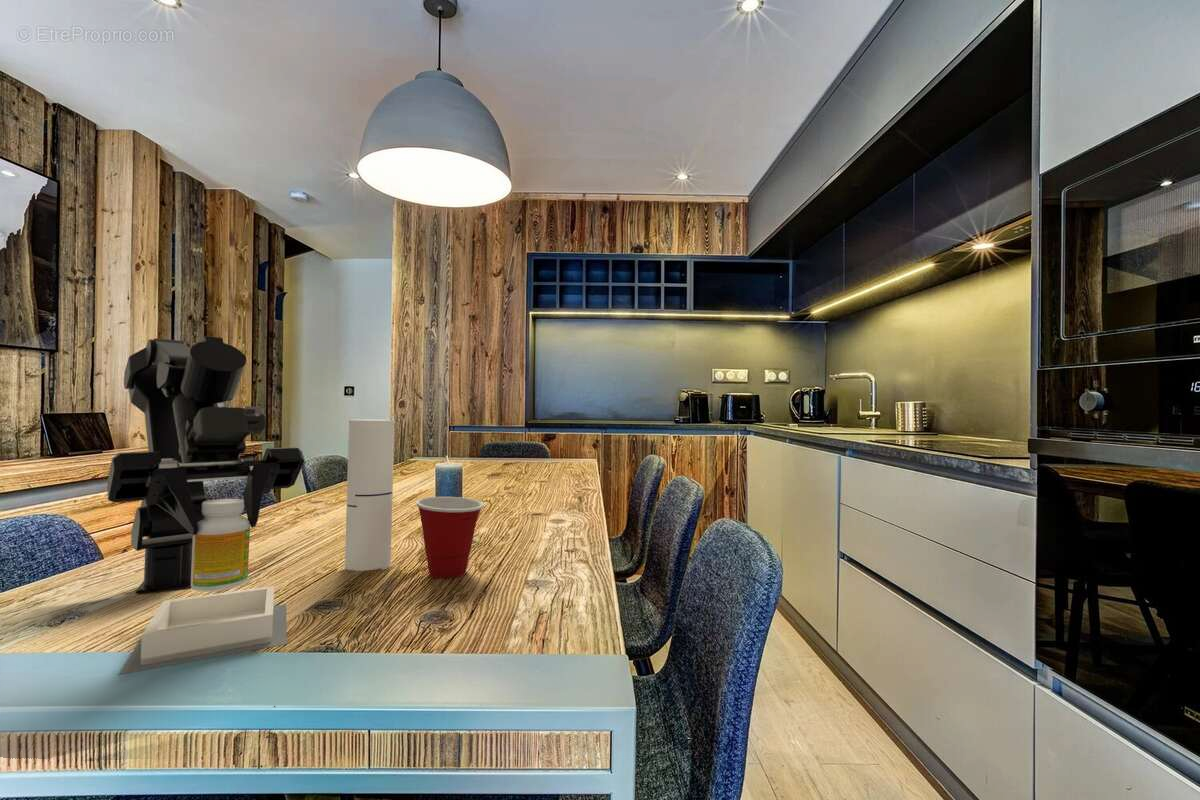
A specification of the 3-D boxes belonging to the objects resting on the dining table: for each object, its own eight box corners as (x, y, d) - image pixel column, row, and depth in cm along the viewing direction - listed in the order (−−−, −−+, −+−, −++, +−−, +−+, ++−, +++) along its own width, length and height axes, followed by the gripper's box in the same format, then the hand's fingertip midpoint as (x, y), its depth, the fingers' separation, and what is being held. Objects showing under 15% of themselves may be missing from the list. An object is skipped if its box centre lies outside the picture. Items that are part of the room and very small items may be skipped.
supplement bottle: (253, 585, 61) (257, 501, 61) (196, 596, 57) (199, 506, 57) (241, 574, 65) (244, 495, 65) (186, 584, 61) (190, 500, 61)
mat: (149, 628, 63) (149, 624, 63) (286, 608, 70) (286, 604, 70) (117, 679, 51) (118, 674, 51) (286, 648, 58) (286, 643, 58)
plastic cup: (464, 586, 80) (466, 507, 80) (400, 581, 82) (402, 504, 82) (493, 566, 90) (494, 496, 91) (435, 562, 92) (437, 494, 93)
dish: (162, 626, 62) (163, 600, 62) (273, 609, 68) (274, 586, 68) (140, 665, 53) (141, 634, 53) (271, 641, 58) (272, 614, 59)
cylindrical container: (379, 574, 85) (383, 420, 86) (336, 573, 85) (340, 419, 86) (397, 561, 92) (401, 420, 93) (357, 561, 93) (361, 419, 93)
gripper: (115, 378, 57) (127, 493, 49) (302, 387, 71) (333, 477, 63) (103, 446, 62) (111, 560, 54) (279, 442, 76) (305, 531, 68)
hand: (225, 528), depth 60 cm, fingers closed on supplement bottle, 5 cm apart
